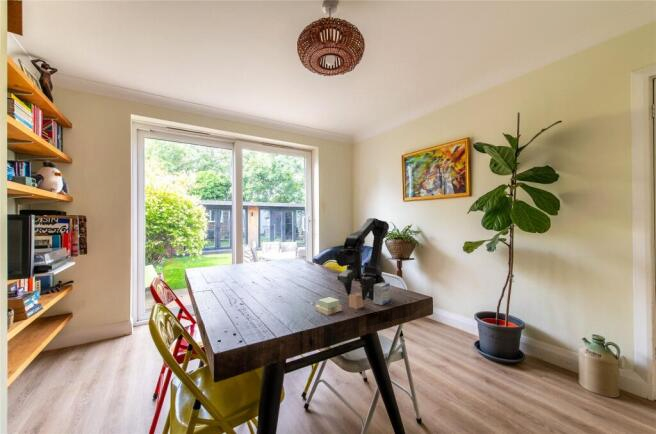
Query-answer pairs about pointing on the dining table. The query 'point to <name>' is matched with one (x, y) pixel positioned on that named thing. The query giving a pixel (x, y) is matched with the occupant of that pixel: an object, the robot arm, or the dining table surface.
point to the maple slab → (328, 311)
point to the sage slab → (328, 302)
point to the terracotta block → (355, 300)
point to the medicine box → (381, 293)
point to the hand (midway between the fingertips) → (356, 298)
